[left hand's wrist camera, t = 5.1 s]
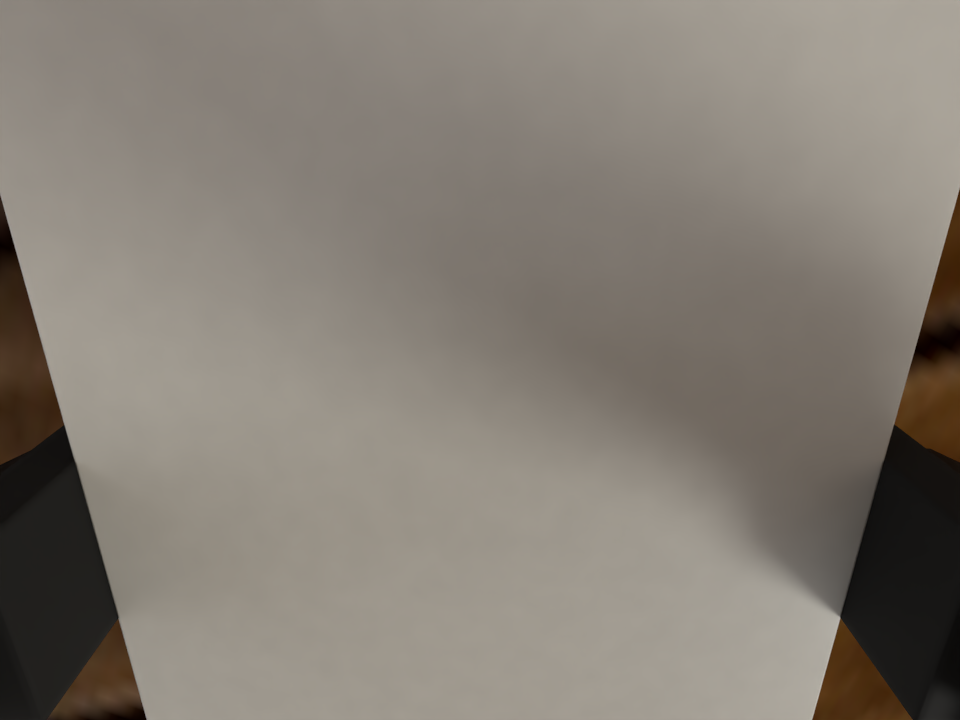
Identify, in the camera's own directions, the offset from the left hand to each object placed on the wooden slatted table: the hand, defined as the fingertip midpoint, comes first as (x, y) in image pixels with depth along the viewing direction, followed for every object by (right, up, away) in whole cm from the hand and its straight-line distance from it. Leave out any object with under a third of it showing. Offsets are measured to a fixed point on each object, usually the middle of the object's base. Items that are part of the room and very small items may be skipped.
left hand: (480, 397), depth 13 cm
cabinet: (0, +7, +2) cm, 7 cm away
